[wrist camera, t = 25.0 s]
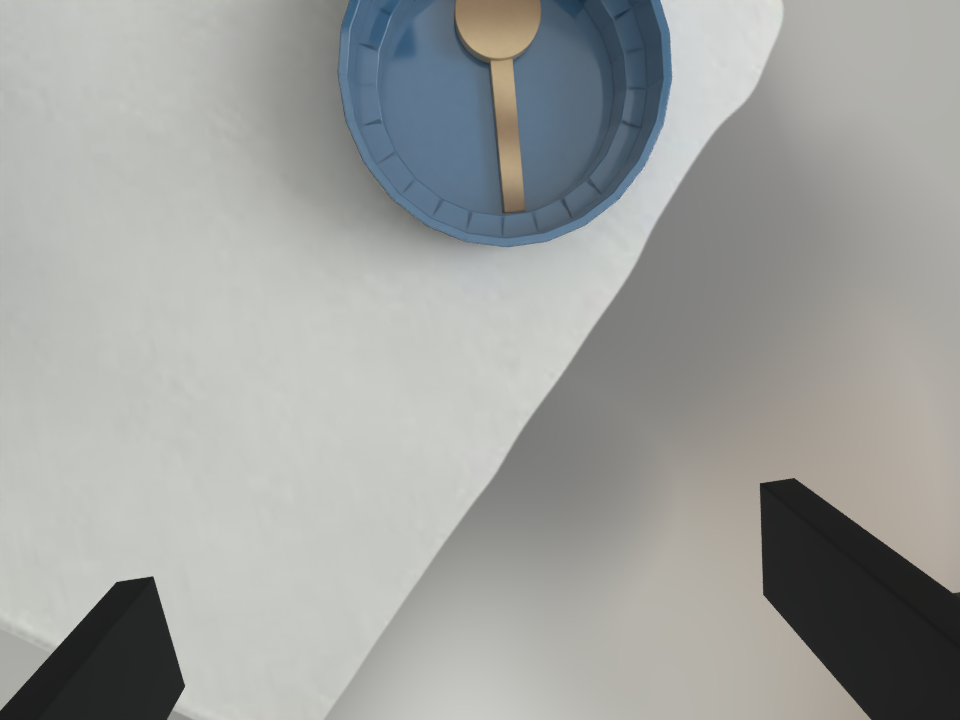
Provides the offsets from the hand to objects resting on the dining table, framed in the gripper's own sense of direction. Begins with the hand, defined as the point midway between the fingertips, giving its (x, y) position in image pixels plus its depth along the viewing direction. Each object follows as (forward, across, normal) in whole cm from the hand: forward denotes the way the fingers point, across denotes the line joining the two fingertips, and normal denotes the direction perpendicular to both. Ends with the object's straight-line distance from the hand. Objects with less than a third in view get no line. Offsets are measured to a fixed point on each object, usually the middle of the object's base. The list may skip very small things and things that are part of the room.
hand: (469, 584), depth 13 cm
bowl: (+37, +6, +16) cm, 40 cm away
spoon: (+36, +6, +16) cm, 40 cm away
